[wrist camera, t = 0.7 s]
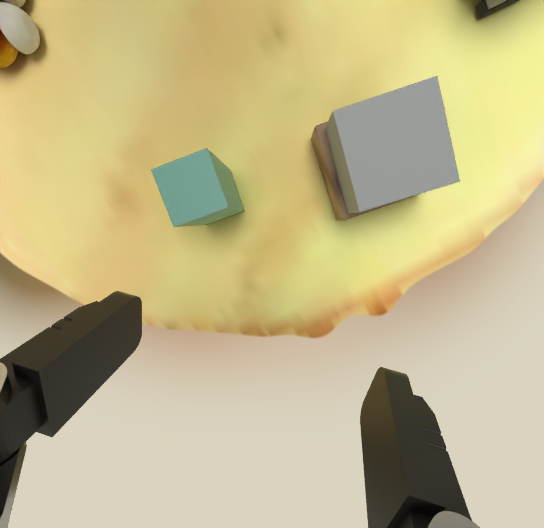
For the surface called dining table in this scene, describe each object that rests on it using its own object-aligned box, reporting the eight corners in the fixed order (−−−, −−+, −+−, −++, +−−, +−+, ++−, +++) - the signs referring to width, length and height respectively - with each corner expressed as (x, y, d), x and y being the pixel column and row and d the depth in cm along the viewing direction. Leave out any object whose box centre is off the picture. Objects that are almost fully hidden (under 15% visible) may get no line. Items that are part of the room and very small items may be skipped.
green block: (191, 184, 32) (151, 169, 23) (230, 170, 32) (206, 148, 22) (206, 224, 33) (173, 226, 23) (244, 210, 33) (228, 207, 23)
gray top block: (324, 128, 27) (332, 110, 23) (411, 99, 27) (437, 75, 22) (347, 213, 28) (359, 212, 24) (431, 187, 28) (460, 181, 23)
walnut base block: (310, 139, 32) (315, 126, 27) (393, 108, 31) (411, 89, 26) (336, 219, 33) (344, 220, 28) (416, 192, 32) (437, 187, 28)
